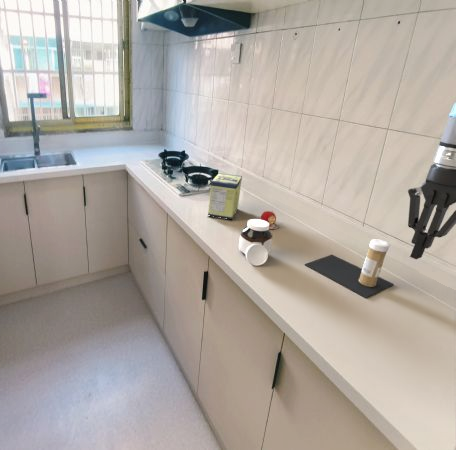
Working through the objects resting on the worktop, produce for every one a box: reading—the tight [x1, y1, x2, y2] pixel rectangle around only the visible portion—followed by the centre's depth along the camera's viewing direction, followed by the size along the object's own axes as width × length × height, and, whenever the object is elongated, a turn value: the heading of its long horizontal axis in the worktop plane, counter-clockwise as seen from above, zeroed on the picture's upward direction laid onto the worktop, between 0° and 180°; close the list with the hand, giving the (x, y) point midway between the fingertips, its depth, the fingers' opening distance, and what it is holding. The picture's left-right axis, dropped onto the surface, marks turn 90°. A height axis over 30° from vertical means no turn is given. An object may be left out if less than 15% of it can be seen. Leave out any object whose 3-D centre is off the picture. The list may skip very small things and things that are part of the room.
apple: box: [260, 210, 279, 230], centre depth 135 cm, size 8×8×6 cm
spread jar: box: [238, 218, 273, 267], centre depth 109 cm, size 12×11×12 cm
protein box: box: [207, 172, 243, 220], centre depth 145 cm, size 10×16×16 cm
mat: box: [304, 254, 395, 299], centre depth 104 cm, size 20×14×1 cm
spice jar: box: [358, 238, 391, 287], centre depth 96 cm, size 5×5×14 cm
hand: (415, 256), depth 86 cm, fingers closed
